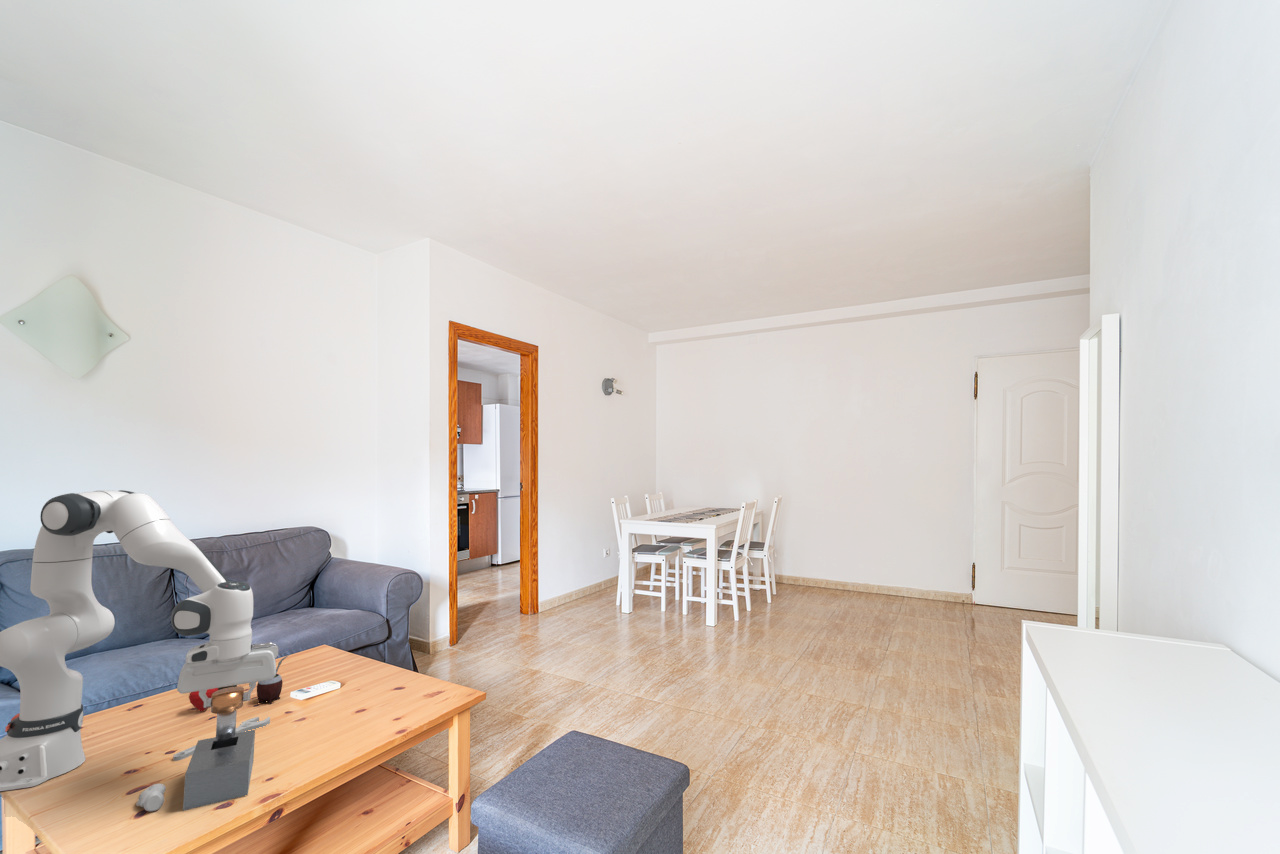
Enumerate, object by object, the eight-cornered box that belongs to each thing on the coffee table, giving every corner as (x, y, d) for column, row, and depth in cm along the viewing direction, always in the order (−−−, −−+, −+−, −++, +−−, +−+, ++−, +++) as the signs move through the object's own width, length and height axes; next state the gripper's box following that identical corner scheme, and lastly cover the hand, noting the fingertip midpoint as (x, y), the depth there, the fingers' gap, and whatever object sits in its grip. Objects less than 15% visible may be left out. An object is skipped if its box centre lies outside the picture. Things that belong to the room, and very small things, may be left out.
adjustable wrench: (176, 764, 148) (177, 756, 148) (163, 758, 151) (163, 751, 151) (273, 724, 170) (273, 718, 171) (260, 720, 173) (260, 714, 173)
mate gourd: (254, 700, 186) (257, 654, 188) (282, 694, 192) (284, 649, 193) (258, 707, 181) (260, 660, 182) (286, 701, 186) (289, 654, 187)
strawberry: (219, 710, 179) (221, 678, 180) (189, 718, 173) (191, 684, 174) (215, 705, 183) (217, 673, 184) (185, 712, 177) (188, 679, 178)
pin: (207, 745, 137) (210, 698, 138) (211, 734, 143) (213, 689, 144) (240, 738, 141) (242, 693, 142) (242, 728, 146) (245, 684, 147)
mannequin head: (141, 806, 131) (169, 792, 134) (137, 822, 124) (166, 807, 127) (135, 789, 130) (163, 775, 133) (130, 805, 124) (160, 790, 127)
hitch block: (182, 810, 127) (185, 773, 128) (196, 773, 142) (198, 740, 143) (247, 795, 133) (249, 760, 134) (253, 761, 149) (255, 729, 149)
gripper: (279, 638, 151) (276, 691, 150) (182, 650, 141) (179, 707, 140) (278, 644, 146) (275, 699, 145) (177, 657, 136) (174, 717, 135)
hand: (227, 703), depth 142 cm, fingers closed on pin, 7 cm apart
